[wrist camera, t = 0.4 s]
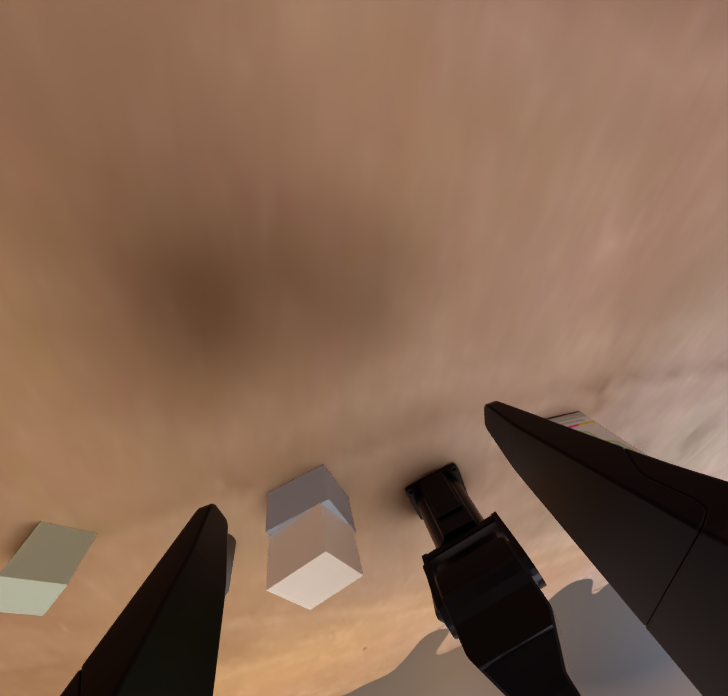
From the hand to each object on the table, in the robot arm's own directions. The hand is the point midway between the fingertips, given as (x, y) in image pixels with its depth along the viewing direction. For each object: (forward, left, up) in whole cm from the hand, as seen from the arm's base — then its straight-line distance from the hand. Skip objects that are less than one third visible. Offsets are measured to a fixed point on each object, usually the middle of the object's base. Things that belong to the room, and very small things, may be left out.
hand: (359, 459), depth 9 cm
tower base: (-17, +9, -14) cm, 24 cm away
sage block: (-8, +28, -14) cm, 33 cm away
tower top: (-17, +9, -10) cm, 22 cm away
